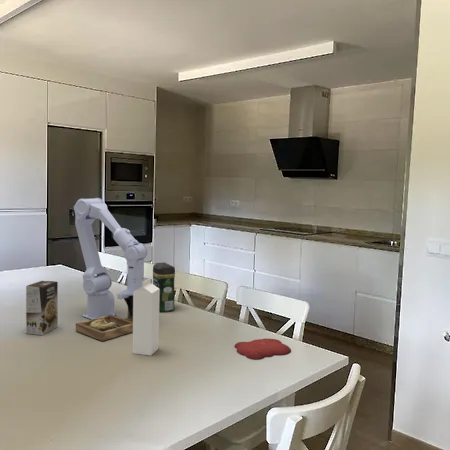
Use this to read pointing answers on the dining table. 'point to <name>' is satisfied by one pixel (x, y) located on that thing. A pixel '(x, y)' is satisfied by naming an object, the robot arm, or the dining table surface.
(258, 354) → the red lobed slab
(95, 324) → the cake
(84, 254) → the robot arm
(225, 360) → the dining table surface
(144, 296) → the milk
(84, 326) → the pull frame
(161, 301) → the coffee jar
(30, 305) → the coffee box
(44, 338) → the dining table surface
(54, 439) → the dining table surface
